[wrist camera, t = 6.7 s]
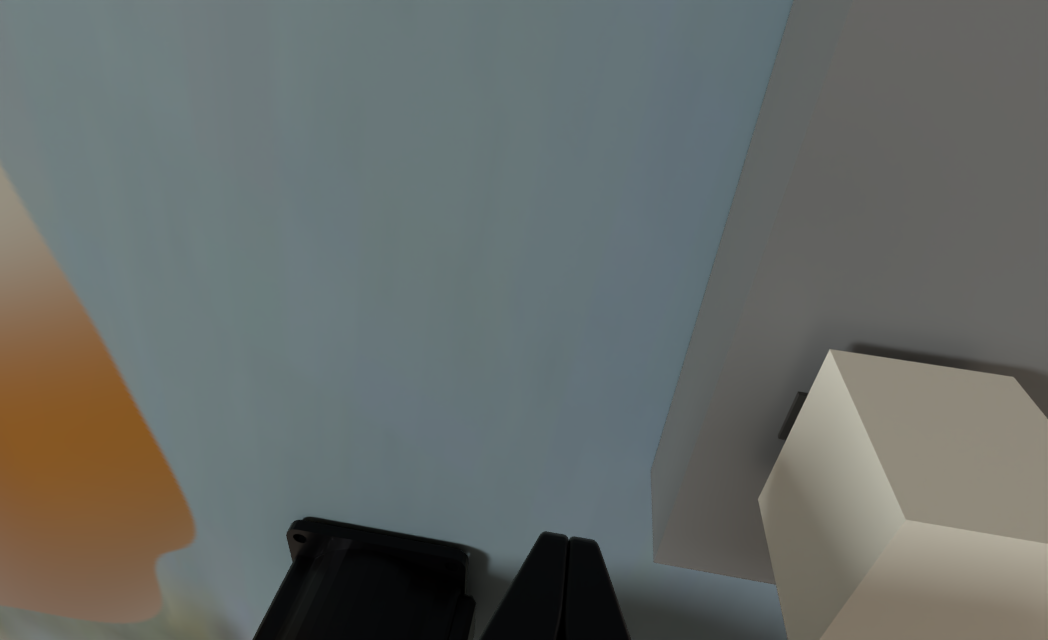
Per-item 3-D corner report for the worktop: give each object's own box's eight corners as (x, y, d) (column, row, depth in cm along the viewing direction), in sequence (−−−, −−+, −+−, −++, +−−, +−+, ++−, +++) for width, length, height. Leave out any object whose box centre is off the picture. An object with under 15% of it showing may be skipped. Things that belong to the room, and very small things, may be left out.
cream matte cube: (758, 499, 13) (794, 673, 10) (829, 349, 10) (905, 519, 7) (906, 524, 12) (989, 710, 9) (1013, 376, 10) (1165, 563, 7)
